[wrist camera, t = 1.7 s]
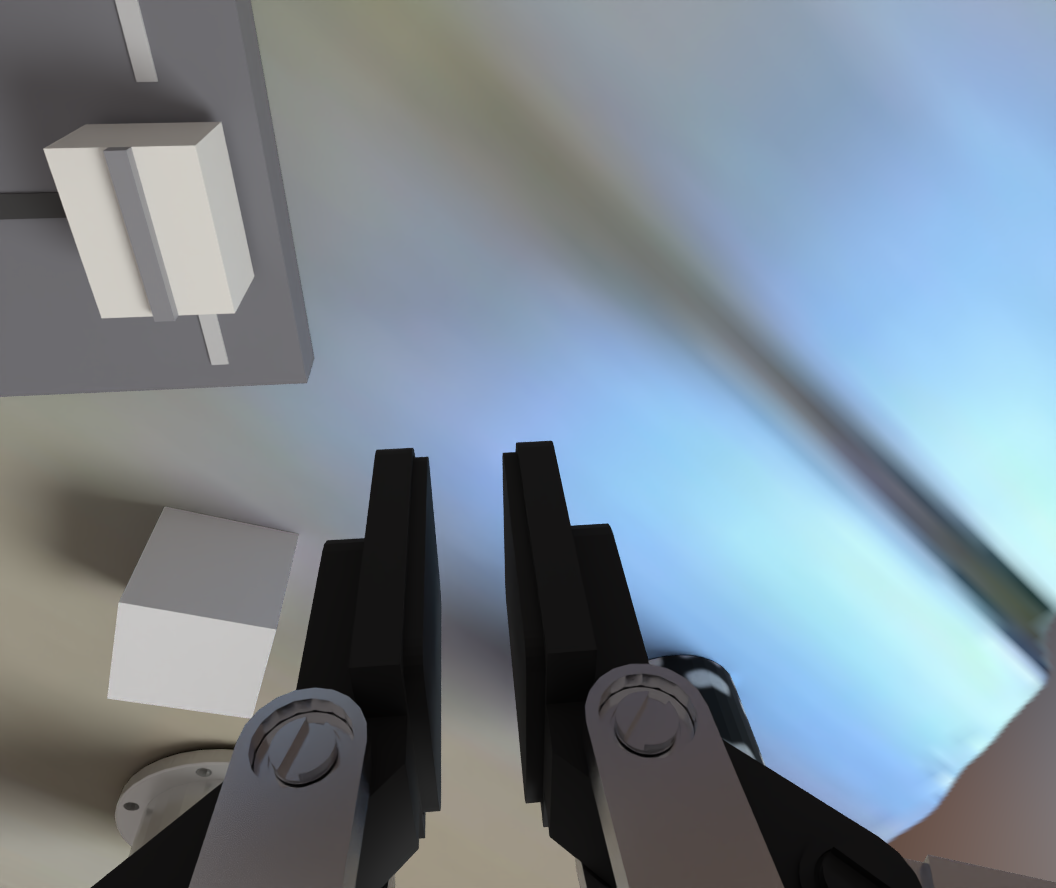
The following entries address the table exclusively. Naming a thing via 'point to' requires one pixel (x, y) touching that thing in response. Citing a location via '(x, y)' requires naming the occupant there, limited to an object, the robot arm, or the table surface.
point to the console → (42, 226)
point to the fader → (154, 217)
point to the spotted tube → (716, 699)
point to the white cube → (201, 614)
